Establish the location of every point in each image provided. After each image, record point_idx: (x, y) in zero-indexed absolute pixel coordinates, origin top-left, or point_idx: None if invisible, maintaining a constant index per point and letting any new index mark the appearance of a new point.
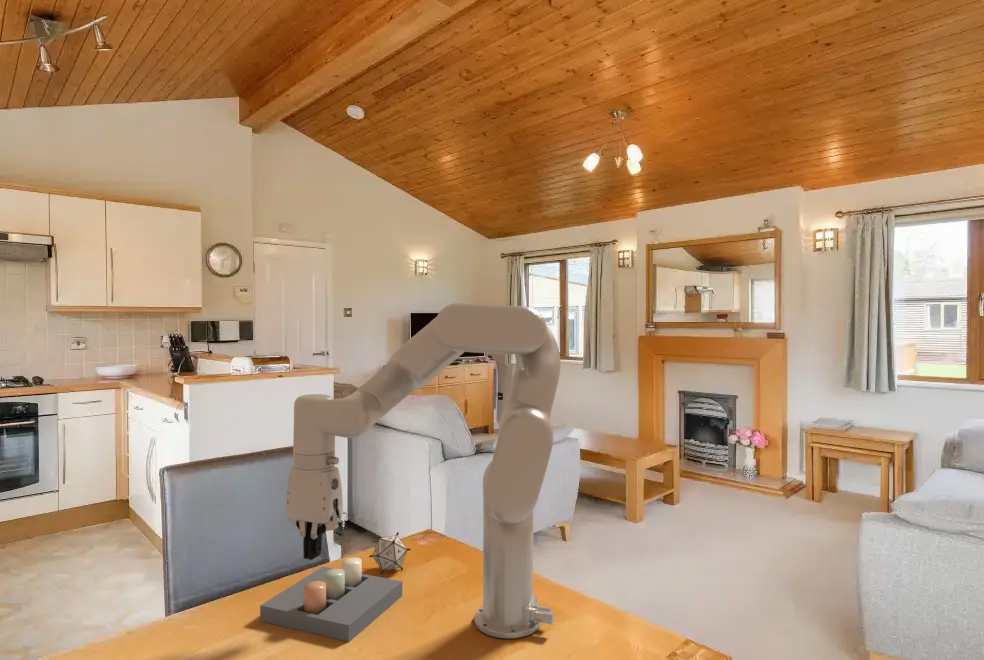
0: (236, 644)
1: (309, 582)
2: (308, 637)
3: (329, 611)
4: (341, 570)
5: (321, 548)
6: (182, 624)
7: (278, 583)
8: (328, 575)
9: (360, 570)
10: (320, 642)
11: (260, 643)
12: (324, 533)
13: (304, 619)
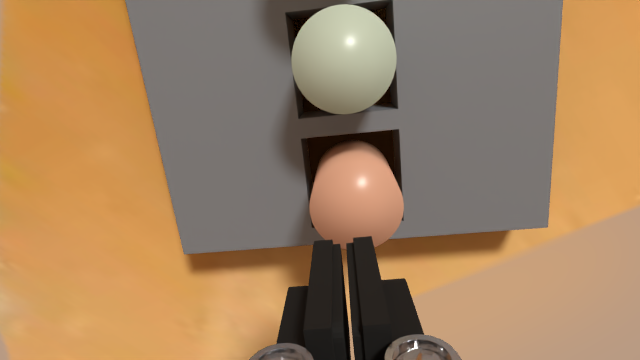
0: (251, 332)
1: (311, 196)
2: None
3: (425, 185)
4: (357, 18)
5: (407, 286)
6: (49, 325)
7: (17, 12)
8: (337, 100)
9: None
10: (443, 241)
11: None
12: (447, 343)
13: None
